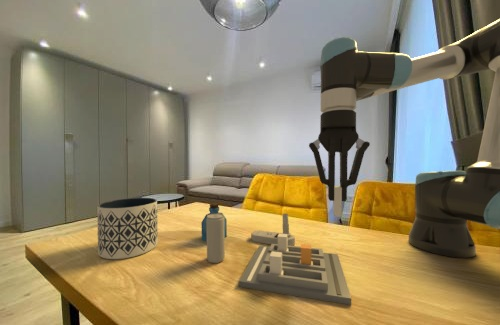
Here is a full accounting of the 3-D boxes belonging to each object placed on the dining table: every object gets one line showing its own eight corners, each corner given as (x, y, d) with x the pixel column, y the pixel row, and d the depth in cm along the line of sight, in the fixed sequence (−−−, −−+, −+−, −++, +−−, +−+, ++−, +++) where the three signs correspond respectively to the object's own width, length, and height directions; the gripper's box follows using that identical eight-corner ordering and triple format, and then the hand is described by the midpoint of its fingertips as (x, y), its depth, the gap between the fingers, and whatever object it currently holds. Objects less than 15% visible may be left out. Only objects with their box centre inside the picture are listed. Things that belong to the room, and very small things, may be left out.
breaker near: (283, 274, 47) (283, 252, 47) (282, 280, 45) (282, 257, 45) (270, 272, 48) (270, 251, 48) (268, 278, 46) (268, 255, 46)
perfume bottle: (201, 240, 71) (201, 205, 71) (211, 234, 77) (211, 201, 77) (217, 243, 69) (217, 206, 69) (226, 236, 74) (226, 203, 74)
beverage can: (209, 265, 54) (209, 219, 54) (204, 258, 58) (204, 214, 58) (227, 261, 56) (227, 216, 56) (221, 254, 61) (220, 212, 60)
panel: (337, 258, 57) (337, 248, 57) (351, 304, 39) (351, 290, 39) (259, 249, 63) (259, 240, 63) (238, 286, 45) (238, 274, 45)
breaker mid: (312, 265, 51) (312, 244, 51) (312, 270, 49) (312, 248, 49) (299, 263, 52) (299, 243, 52) (299, 268, 50) (299, 247, 50)
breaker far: (288, 252, 59) (288, 234, 59) (287, 255, 56) (287, 237, 56) (277, 250, 59) (277, 233, 59) (276, 254, 57) (276, 236, 57)
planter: (166, 247, 65) (165, 201, 65) (106, 267, 54) (105, 211, 54) (146, 235, 76) (145, 196, 76) (92, 249, 65) (91, 202, 65)
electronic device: (254, 209, 75) (295, 212, 68) (255, 236, 76) (297, 242, 69) (247, 213, 71) (290, 217, 64) (248, 242, 71) (292, 249, 64)
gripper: (365, 113, 50) (364, 213, 50) (308, 116, 53) (307, 209, 54) (374, 106, 43) (373, 221, 43) (308, 110, 46) (307, 217, 46)
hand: (337, 214), depth 48 cm, fingers closed
